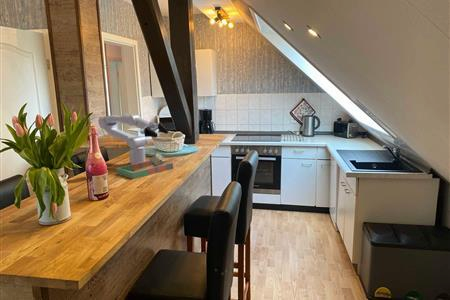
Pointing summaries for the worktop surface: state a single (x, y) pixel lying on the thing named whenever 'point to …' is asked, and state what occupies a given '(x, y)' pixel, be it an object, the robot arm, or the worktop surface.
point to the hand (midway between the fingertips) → (162, 133)
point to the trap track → (128, 173)
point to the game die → (157, 160)
